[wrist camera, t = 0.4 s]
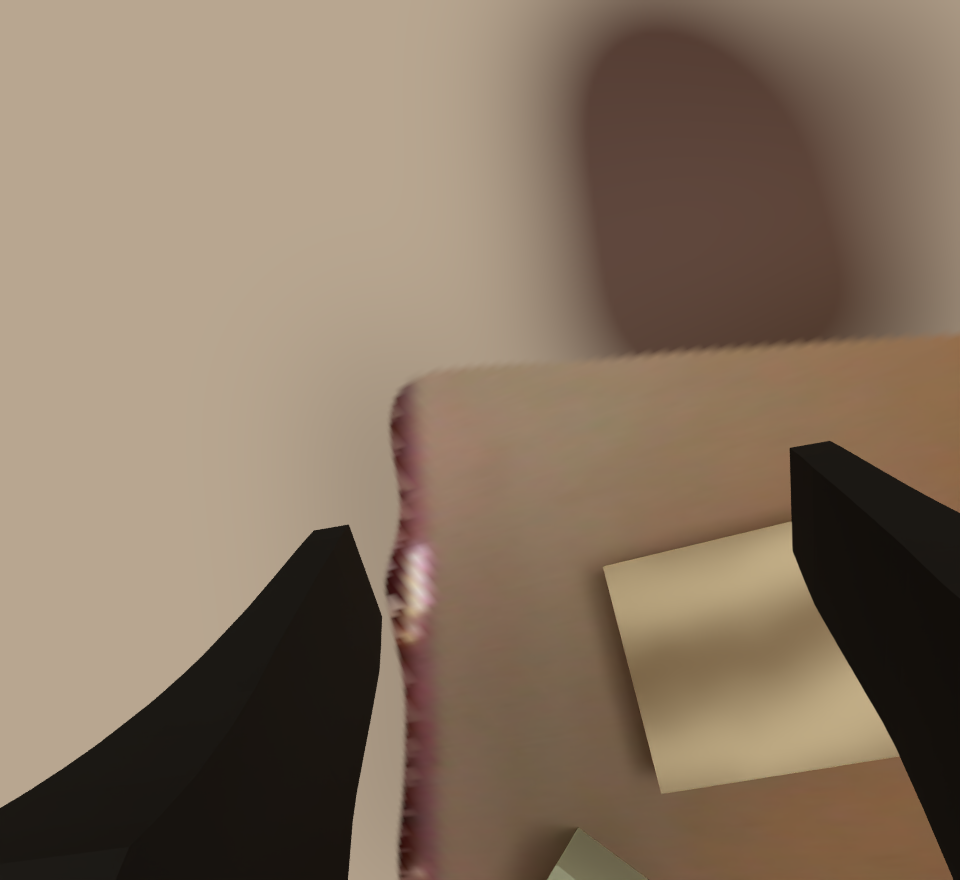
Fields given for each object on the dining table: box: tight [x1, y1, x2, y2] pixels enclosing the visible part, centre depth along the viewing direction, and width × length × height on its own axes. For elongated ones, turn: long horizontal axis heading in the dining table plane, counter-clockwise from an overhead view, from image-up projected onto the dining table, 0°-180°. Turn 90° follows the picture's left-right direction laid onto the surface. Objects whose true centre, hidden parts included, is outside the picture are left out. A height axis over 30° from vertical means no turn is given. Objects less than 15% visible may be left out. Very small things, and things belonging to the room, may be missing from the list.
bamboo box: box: [603, 521, 899, 794], centre depth 36 cm, size 10×10×4 cm
